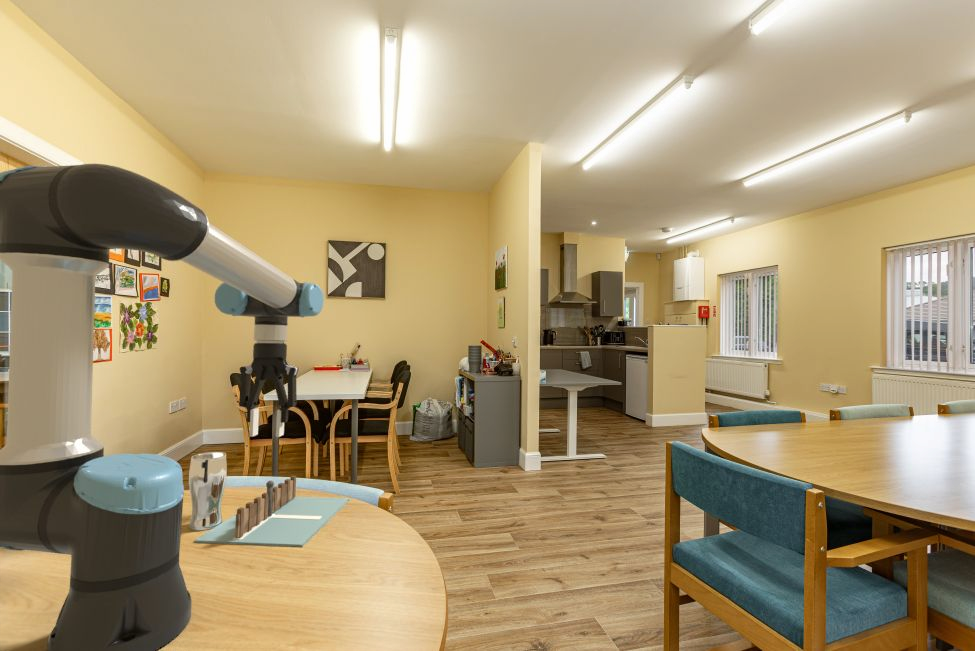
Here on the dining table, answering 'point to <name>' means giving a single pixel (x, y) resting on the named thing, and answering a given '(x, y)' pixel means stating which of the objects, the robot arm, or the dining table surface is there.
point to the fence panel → (283, 493)
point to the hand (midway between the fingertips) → (266, 435)
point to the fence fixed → (254, 512)
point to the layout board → (281, 524)
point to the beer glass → (207, 489)
